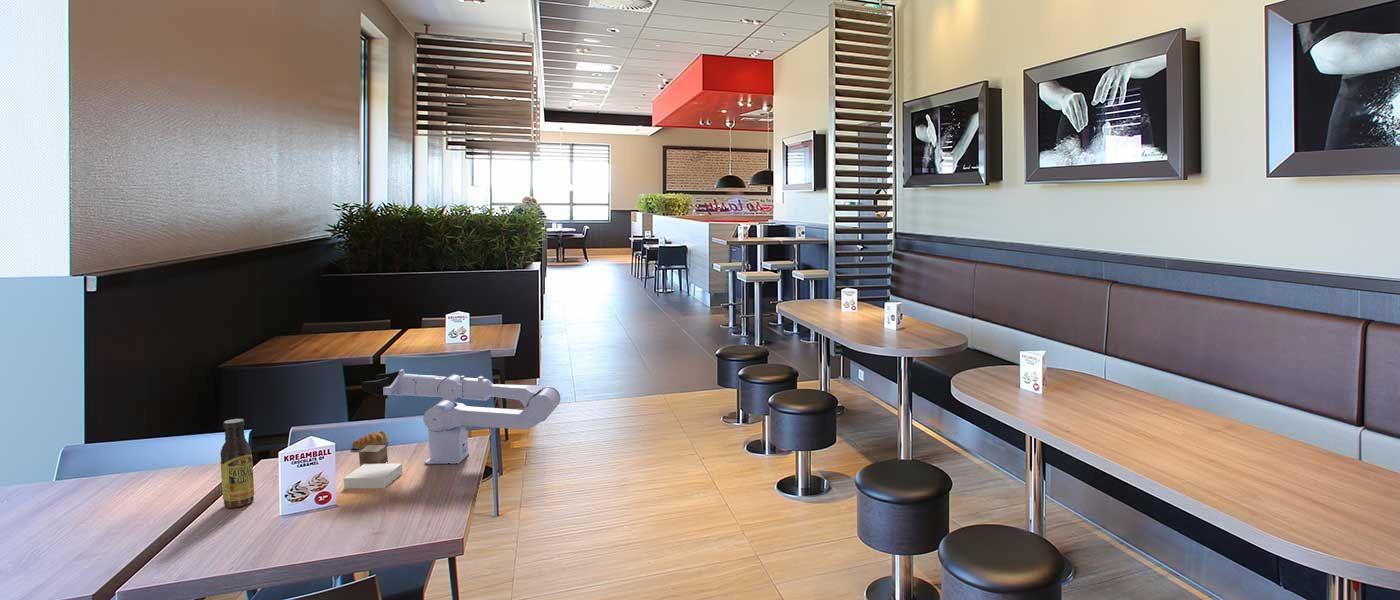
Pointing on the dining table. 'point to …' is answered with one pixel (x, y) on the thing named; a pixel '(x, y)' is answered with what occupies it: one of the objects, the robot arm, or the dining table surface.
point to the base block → (373, 476)
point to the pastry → (371, 440)
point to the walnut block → (373, 455)
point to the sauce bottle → (236, 466)
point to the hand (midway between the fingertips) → (369, 382)
